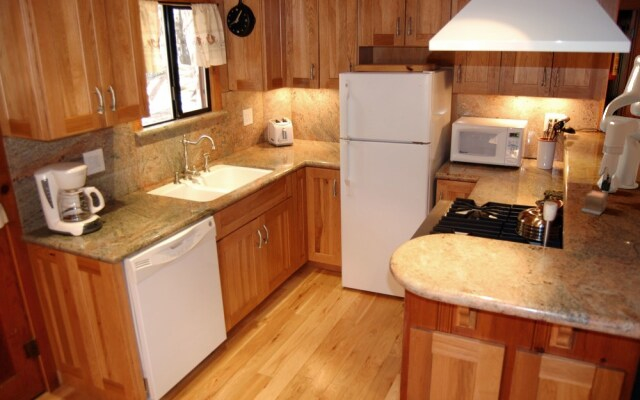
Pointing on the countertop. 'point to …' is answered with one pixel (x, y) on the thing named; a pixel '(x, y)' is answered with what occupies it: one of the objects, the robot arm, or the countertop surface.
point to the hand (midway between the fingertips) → (604, 190)
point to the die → (614, 184)
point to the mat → (593, 211)
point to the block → (595, 200)
